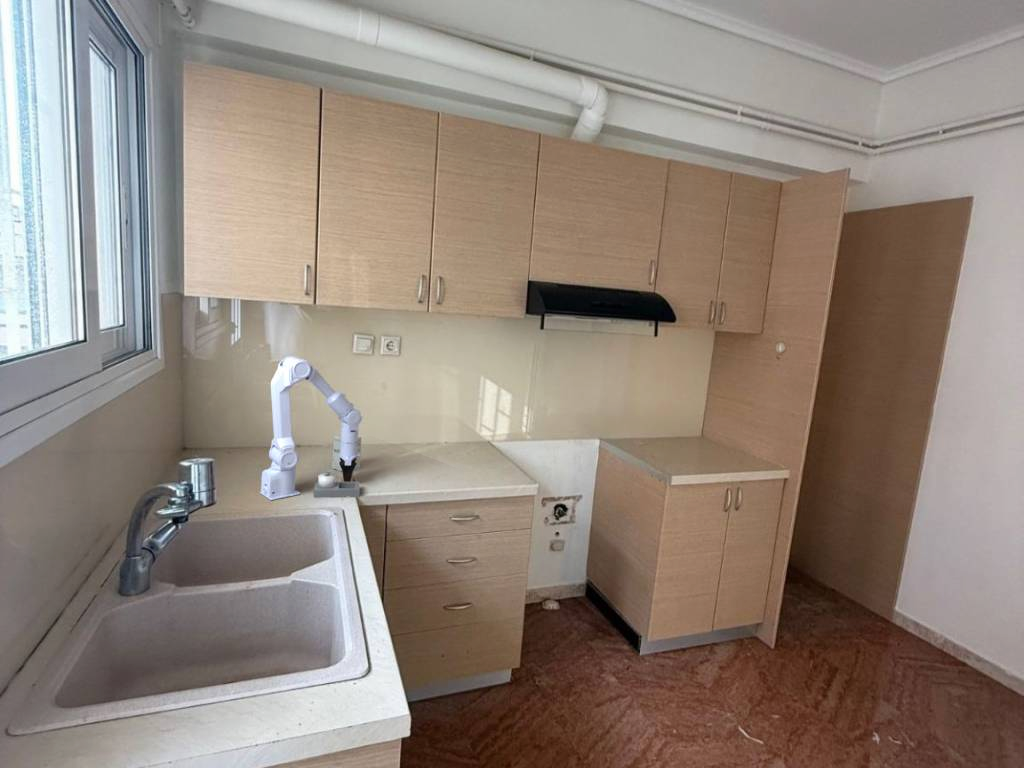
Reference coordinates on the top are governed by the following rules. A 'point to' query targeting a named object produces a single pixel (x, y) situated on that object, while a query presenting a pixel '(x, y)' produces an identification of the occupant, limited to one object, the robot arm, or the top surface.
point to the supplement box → (337, 450)
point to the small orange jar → (351, 478)
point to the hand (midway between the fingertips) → (347, 479)
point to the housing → (335, 487)
